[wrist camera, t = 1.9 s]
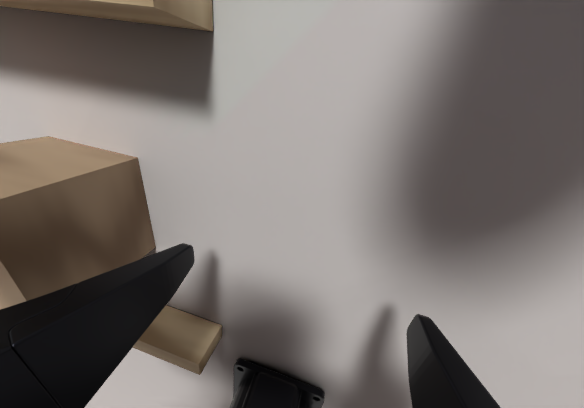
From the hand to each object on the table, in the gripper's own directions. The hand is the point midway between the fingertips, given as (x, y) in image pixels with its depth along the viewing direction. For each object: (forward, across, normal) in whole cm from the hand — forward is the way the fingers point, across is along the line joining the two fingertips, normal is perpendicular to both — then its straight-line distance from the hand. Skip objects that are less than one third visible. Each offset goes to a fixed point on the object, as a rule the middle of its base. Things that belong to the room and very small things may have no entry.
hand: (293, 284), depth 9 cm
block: (+2, +12, 0) cm, 12 cm away
